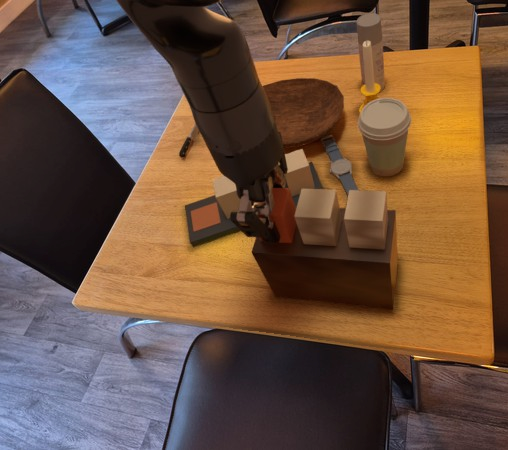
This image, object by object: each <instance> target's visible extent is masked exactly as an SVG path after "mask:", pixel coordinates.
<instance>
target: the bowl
mask: <svg viewBox="0 0 508 450" xmlns="http://www.w3.org/2000/svg"><path fill="white" fill-rule="evenodd" d="M262 86H263V88H264V90H265V92H266V95H267V97H268V100H269V103H270V107H271V110H272V113H273V116H274V119H275V122H276V126H277V129H278V132H281V137H282V142H283V147H284V149H287V148H299V147H301V146H304V145H308V144H310V143H312V142H316V141H318V140H319V139H321V138H323V137H324V136H326V135H327V134H328V133H329V132H331V131H332V130H333V128H334V127H335V126H336V125H337V123H338V121H339V120H340V118H341V116H342V114H343V112H344V108H345V100H344V99H345V98H344V97H345V96H344V94H343V93H342V91H341V90H340V88H339V87H338V85H336V84H335V83H331V82H330V81H328V80H325V79H319V78H315V77H311V78H309V77H308V78H307V77H306V78H305V77H297V78H288V79H281V80H278V81H277V80H276V81H275V82H271V83H268V84H264V85H262Z"/></svg>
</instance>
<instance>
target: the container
mask: <svg viewBox="0 0 508 450" xmlns="http://www.w3.org/2000/svg"><path fill="white" fill-rule="evenodd" d="M356 30H357V31H356V32H357V33H356V35H357V46H358V54H359V55H358V56H359V66H360V67H359V68H360V77H361V85H362V86H363V85H365V72H364V60H363V43H364V42H365V41H366V40H367V41H370V42H371V48H372V59H373V71H374V83H377V84H379V85H380V87H381V90H380V91H379V93H381V92H382V91H383V90H384V89H385V87H386V82H385V60H384V42H383V30H382V17H381V15H379V14H377V13H373V12H372V13H371V12H369V13H365V14H362V15H360V16H359V17H358V18H357V19H356ZM362 86H361V87H362Z"/></svg>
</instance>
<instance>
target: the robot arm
mask: <svg viewBox="0 0 508 450" xmlns="http://www.w3.org/2000/svg"><path fill="white" fill-rule="evenodd" d="M115 1H116V2H117V4H118V5H119V7H120V8H121V9H122V10H123V12H124V13H125V14H126V15H127V17H128V18H129V19H130V20H131V22H132V23H133V24H134V25H135V27H136V28H137V29H138V30H139V31H140V33H141V34H142V35H143V37H144V38H145V39H146V41H148V43H150V45H151V46H152V47H153V49H155V51H156V52H157V53H158V54H159V55H160V56H161V57H162V58H163V60H165V61H166V63H167V64H168V65H169V66H170V68H171V71H172V73H173V75H174V77H175V79H176V81H177V84H178V85H179V87H180V89H181V92H182V94H183V96H184V97H185V100H186V102H187V104H188V106H189V108H190V111H191V114H192V117H193V121H194V124H195V123H196V125H197V128H198V130H199V132H198V133H199V134H200V135H201V138H202V139H203V141H204V143H205V145H206V148H207V150H208V151H209V153H210V155H211V157H212V159H213V161H214V163H215V165H216V167H217V169H218V171H219V172H220V174H221V175H222V176H225V177H227V178H228V179H230V180H231V181H232V182H234V183H235V185H236V190H237V195H238V197H239V199H241V201H240V205H239V210H238V211H232V212H231V214H230V219H231V221H232V222H233V223H234V224H235V225H236V226H237V227H238V228H239V229H240V230H241V231H240V232H241V233H242V234H244V236H245V237H246V238H256V237H261V238H262V240H263V242H264V243H278V242H279V241H280V234H279V232H278V229H277V227H276V225H275V222H274V221H273V215H272V211H273V209H274V207H275V205H274V199H273V193H272V188H284V187H285V185H286V182H285V179H284V177H283V174H287V171H288V168H287V163H286V158H285V154H286V153H285V148H284V147H283V142H282V137H281V132H278V129H277V126H276V122H275V119H274V116H273V113H272V110H271V107H270V103H269V100H268V97H267V95H266V92H265V90H264V88H263V86H264V85H262V82H261V79H260V77H259V74H258V71H257V68H256V65H255V62H254V58H253V56H252V52H251V49H250V46H249V44H248V41H247V38H246V35H245V33H244V31H243V29H242V27H241V26H240V25H239V23H237V22H236V21H234V20H233V19H232V18H230V17H227V16H226V15H223V14H220V13H217V12H215V11H212V10H211V9H209V8H207V7H210V6H213V5H216V4H218V3H220V2H221V1H222V0H115ZM264 201H266V203H254V202H264ZM258 214H264V215H265V218H259V217H258Z"/></svg>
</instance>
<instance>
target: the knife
mask: <svg viewBox="0 0 508 450" xmlns="http://www.w3.org/2000/svg"><path fill="white" fill-rule="evenodd" d="M199 133H200V132H199V130H198V128H197V125H196V123H195V122H194V125H193V127H192V129H191V130H190V132H189V134H188V135H187V136H186V139H185V141H184V142H183V144H182V146H181V148H180V150H179V152H178V156H179V158H181V159H182V158H186V154H187V152H188V150H189V148H190V146H191V143H192V142H196V139H197V136H198V134H199Z"/></svg>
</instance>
